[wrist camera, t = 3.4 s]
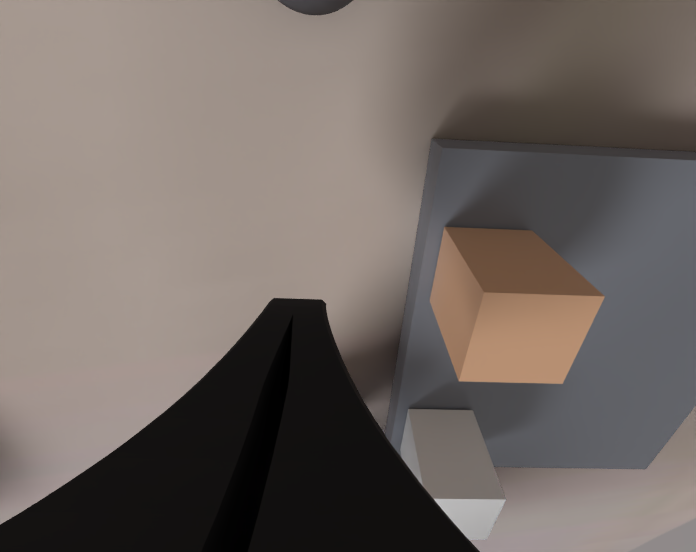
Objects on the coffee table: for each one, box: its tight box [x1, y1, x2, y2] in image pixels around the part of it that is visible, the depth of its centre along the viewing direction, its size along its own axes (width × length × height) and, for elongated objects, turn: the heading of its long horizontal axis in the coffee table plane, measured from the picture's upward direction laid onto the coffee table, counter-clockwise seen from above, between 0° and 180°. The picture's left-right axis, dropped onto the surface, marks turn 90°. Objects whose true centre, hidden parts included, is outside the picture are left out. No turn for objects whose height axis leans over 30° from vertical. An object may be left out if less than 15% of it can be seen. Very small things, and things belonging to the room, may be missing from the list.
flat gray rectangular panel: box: [385, 139, 696, 469], centre depth 16 cm, size 16×14×2 cm
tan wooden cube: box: [430, 227, 605, 384], centre depth 11 cm, size 3×3×4 cm
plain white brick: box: [400, 409, 506, 540], centre depth 16 cm, size 3×3×4 cm
